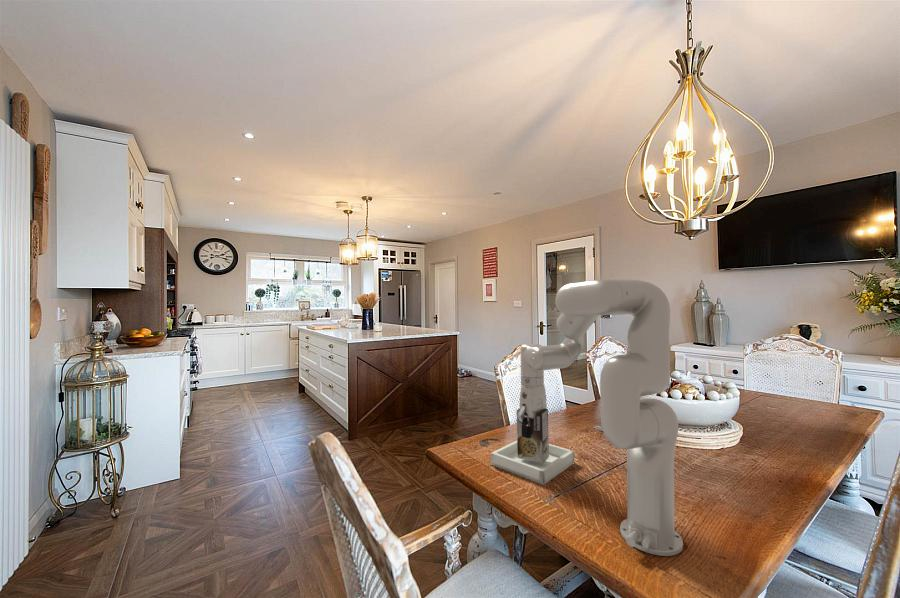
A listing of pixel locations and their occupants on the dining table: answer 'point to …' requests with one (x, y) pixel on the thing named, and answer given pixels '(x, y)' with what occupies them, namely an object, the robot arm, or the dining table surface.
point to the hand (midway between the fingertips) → (532, 433)
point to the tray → (533, 463)
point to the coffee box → (534, 438)
